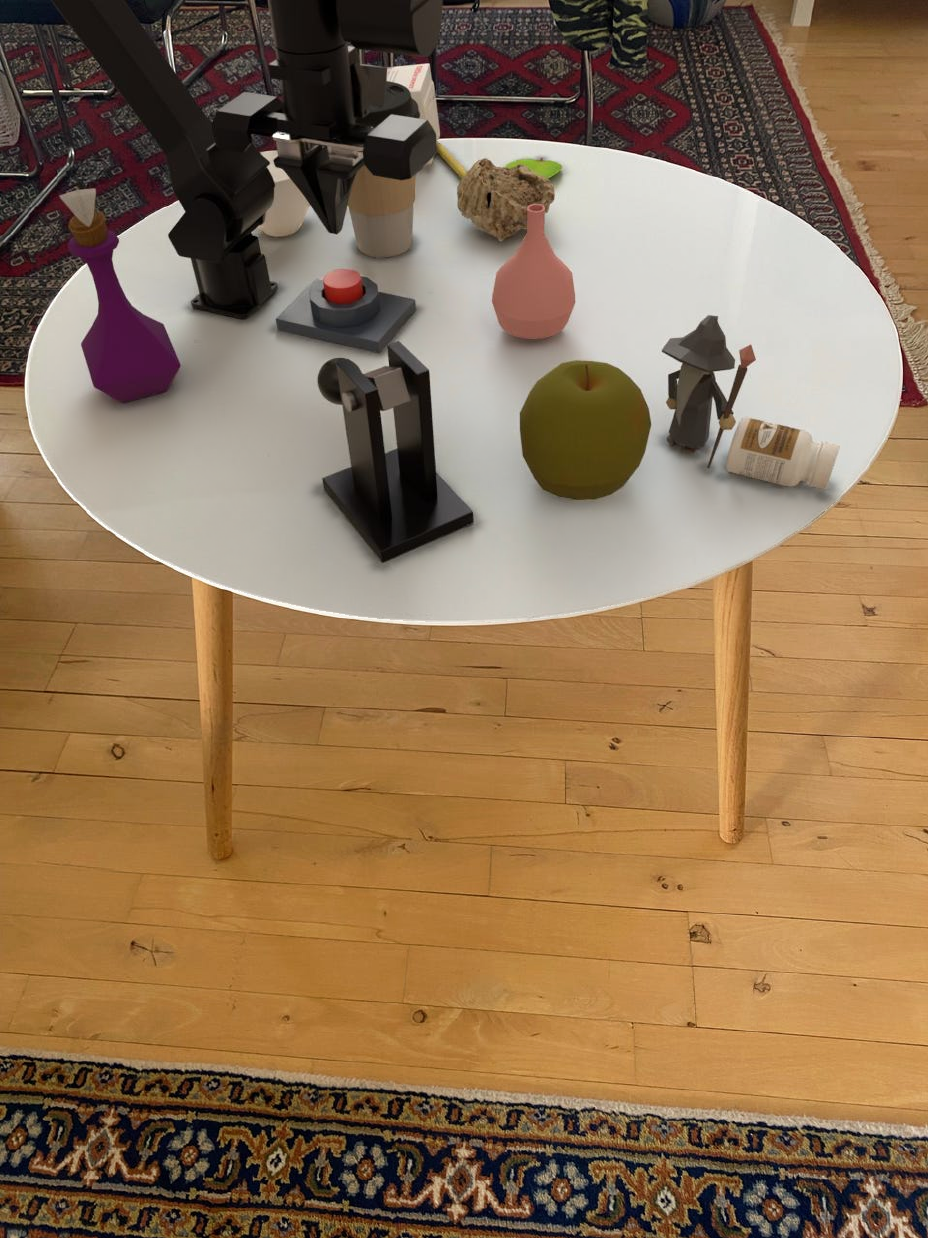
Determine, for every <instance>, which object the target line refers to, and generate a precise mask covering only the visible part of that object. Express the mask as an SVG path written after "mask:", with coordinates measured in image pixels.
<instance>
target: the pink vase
mask: <svg viewBox="0 0 928 1238" xmlns="http://www.w3.org/2000/svg"><path fill="white" fill-rule="evenodd" d="M545 218H546V213H545V207H544V206H543V205H541V204H531V205H529V206H528V207H527V229H526V234H525V236H524V237H523V239H522V241H521V243H520V245H519V246H518V248H517V250H516V252H515V253H514V254H513V255H512V256H511V257H509V259H508V260H507V261H505V262H504V263H503V264H502V266H501V267H500V268H498V270H497V272H496V273H495V279H494V284H493V289H492V297H491V303H492V306H493V309H494V313H495V315H496V318H497V322H498V323H499V326H500V327H501V329H502V330H504V331H505V332H506V333H508V334H509V335H511V336H514V337H518V338H520V339H530V340H534V339H535V340H536V339H546V338H549V337H552V336H555V335H557V334H558V333H560V332H561V331H563V330H564V329H565V328H566V326H567V325H568V322H569V320H570V317H571V316H572V313H573V310H574V307H575V305H576V291H575V284H574V277H573V276H574V275H573V272H572V271H571V269H570V268H569V266H567V265H566V263H564V262H563V261H562V260H561V259H560V258H559V257H558V256H557V254H555V252H554V250H553V248H552V246H551V244H550V242H549V240H548V238H547V236H546V234H545V220H546V219H545Z"/></svg>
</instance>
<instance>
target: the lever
mask: <svg viewBox="0 0 928 1238" xmlns="http://www.w3.org/2000/svg"><path fill="white" fill-rule="evenodd" d="M346 359H347V357H334V358H331V359H329V360H327V361H326V362H325V363H323V364H322V366H321V367H320V369H319V371H318V374H317V379H316V380H317V381H316V382H317V387H318V391H319V393H320V394H321V396H322V397H323V399H325V400H326V401H328V402H329V403H331V404H333V405H337V406H342V400H341V393H340V387H339V380H338V373H337V366H336V363H337V362H340V361H343V360H346ZM349 360H350V361H351V362H352V363H353V364H354V365H355V366H356V367H357V368H358V369H359V370H360V371H361V372H362V369H361V367H360V366H359V365H358V364H357V363H356V362H354V361H353V360H351V359H349ZM363 374H364V375H365V376H366V377H367V378H368V379H369V381H370V382H371V383H372V384H373V385H374V386H375V387H376V388H377V389H378V395H379V404H380V412H385V411H388V410H391V409H393V408H394V407H396V406H399V405H401V404H404V403H407V402H409V401H411V400H410V396H409V393H408V389H407V386H406V382H405V379H404V376H403V372H402V369H401V368H399V367H390V366H389V365H384V366H382V367H379V368H376V369H373V370H370V371H368V372H365V373H363Z"/></svg>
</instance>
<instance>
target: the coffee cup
mask: <svg viewBox="0 0 928 1238" xmlns="http://www.w3.org/2000/svg"><path fill="white" fill-rule="evenodd" d="M369 111H370V113H369V114H367V115H366V116H365V117H364V118H360V117H358V118H357V119H356V123H358V124H364V125H371V126H373V128H376V127H377V126H378V125H379V124H380V123H381V122H383V121H384V120H385V119H386V118H387V117H388V116H390V115H391V114H393V115H399V116H406V117H412V118H419V119H420V112H419V110H418V104H417V102H416V101H415V100H414V99H412V98H411V93H410V91H409V89H408V88H406V87H405V86H403V85H401V84H398V83H395V82H390V81H386V96H385V107H384V108H379V107H377V106H373V105H369ZM416 179H417V173H416V174H415V175H414V176H413V177H412V178H411V179H406V180H396V179H390V178H385V177H379V176H373V174H372V173H371V172H370V171H369V170H368V169H367V167H366V166H365V165H364V166H363V167H362V168H361V169H360V170H358V171H357V174H356V176H355V179H354V182H353V185H352V189H351V193H350V197H349V201H348V205H347V208H348V211H349V216H350V220H351V224H352V228H353V233H354V237H355V242H356V246H357V248H358V250H359V251H360V252H361V253H362V254H364V255H366V256H368V257H370V258H371V257H372V258H376V259H378V258H379V259H383V258H391V257H396V256H399V255H401V254H404V253H405V252H407V251H408V250H410V249H411V247H412V244H413V232H414V231H413V229H414V203H415V201H416V186H417V185H416V184H417V182H416V181H417V180H416Z"/></svg>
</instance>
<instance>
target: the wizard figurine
mask: <svg viewBox="0 0 928 1238" xmlns="http://www.w3.org/2000/svg"><path fill="white" fill-rule="evenodd" d="M738 351H739V352H738V353H739V361H740V364H738V367H737V370H736V373H735V376H734V380H733V383H732V386H731V390H730V393H729V395H728V399H727V397H726V396H725V395H724V393H723V391H722V389H721V388H720V386H719V384H718V383H717V380H716V375H715V372H722V371H730V370H733V369H735V365H736V359H735V357H734V355H733V354H732V353H731V352H730V350H729V349H728V347H727V338H726V334H725V333H724V331H723V329H722V328H721V326H720V324H719V315H710V314H708V315H707V316H705V318H703V319H702V320H701V321H700V322H699V324H698V325H697V326H696V328H695V329H694V330H692V331H690V332H689V333H688V334H686V335H684V336H682V337H671V338H669V339H668V341H667V342H666V343H665V344H664V346H663V348H662V349H661V353H663V354H665V355H667V356H668V357H670V358H672V359H673V360H675V361H677V362H679V363H680V364H681V366H680V369H678V370H676V371H673V372H671V373H668V374H667V395H668V397H667V399H666V401H665V403H666V405H667V407H668V409H669V410H674V413H673V416H672V420H671V423H670V427H669V430H668V433H669V435H668V436H667V437H666V442H668V443H669V445H671V446H672V447H673V446H675V445H679V446H683V449H682V452H684V453H688V454H693V455H694V454H695V453H697V451H698V450H699V449H700V447H704V446H706V444H707V442H708V440H709V438H710V427H711V420H712V419H711V418H712V408H713V400H714V405H715V411H716V417H717V420H718V425H719V428H718V432H717V435H716V438H715V442H714V445H713V447H712V451H711V453H710V457H709V460H708V463H707V469H710V467H711V465H712V462H713V460H714V457H715V454H716V452H717V449H718V447H719V445H720V441H721V438H722V436H723V433H724V431H730V430H731V431H732V429H733V428H734V427H735V426H736V424H737V423H736V422H737V421H736V418H735V416H734V411H733V408H734V405H735V402H736V400H737V397H738V395H739V392H740V390H741V388H742V385H743V382H744V380H745V377H746V374H747V372H748V370H749V369H748V367H749V366H750V365H751V364H752V363H754V362H756V356H755V355H756V354H755V351H754V349H753V345H752V344H749V345H747V346H745V347H743V348H741V349H739V350H738Z"/></svg>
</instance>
